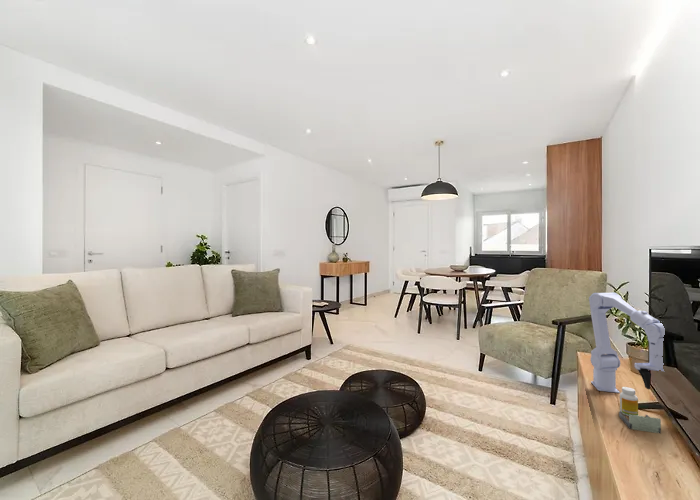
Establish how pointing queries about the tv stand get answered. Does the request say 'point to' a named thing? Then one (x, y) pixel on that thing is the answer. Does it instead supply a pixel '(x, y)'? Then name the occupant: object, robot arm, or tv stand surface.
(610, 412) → the tv stand surface
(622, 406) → the supplement bottle
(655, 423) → the seating bay
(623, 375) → the tv stand surface
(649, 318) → the robot arm
